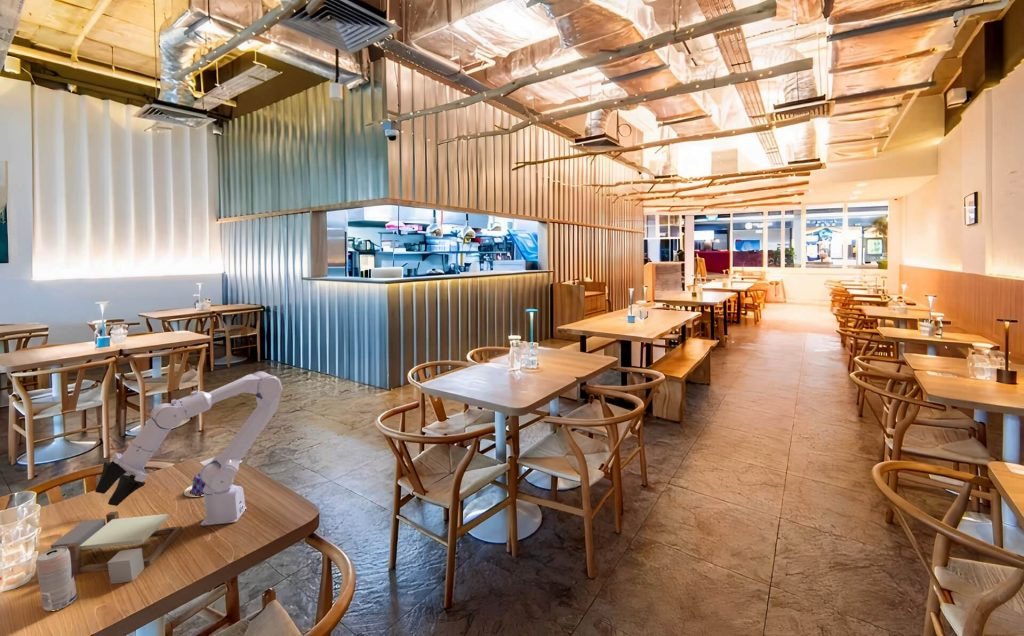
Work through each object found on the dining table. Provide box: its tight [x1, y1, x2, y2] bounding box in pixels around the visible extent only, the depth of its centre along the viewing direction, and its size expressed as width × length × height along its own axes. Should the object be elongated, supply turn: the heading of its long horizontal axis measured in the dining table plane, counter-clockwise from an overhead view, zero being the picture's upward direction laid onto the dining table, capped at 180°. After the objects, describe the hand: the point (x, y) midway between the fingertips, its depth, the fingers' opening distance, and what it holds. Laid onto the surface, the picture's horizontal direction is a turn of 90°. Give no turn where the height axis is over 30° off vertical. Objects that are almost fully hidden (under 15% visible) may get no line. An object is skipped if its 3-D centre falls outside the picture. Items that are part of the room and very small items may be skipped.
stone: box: [107, 547, 145, 585], centre depth 113 cm, size 5×5×5 cm
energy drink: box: [35, 546, 78, 612], centre depth 104 cm, size 5×5×12 cm
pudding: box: [183, 472, 205, 498], centre depth 155 cm, size 12×12×5 cm
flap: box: [50, 513, 170, 551], centre depth 122 cm, size 20×12×2 cm, turn 99°
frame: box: [66, 511, 183, 575], centre depth 122 cm, size 24×16×7 cm
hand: (105, 498), depth 118 cm, fingers open, 7 cm apart
